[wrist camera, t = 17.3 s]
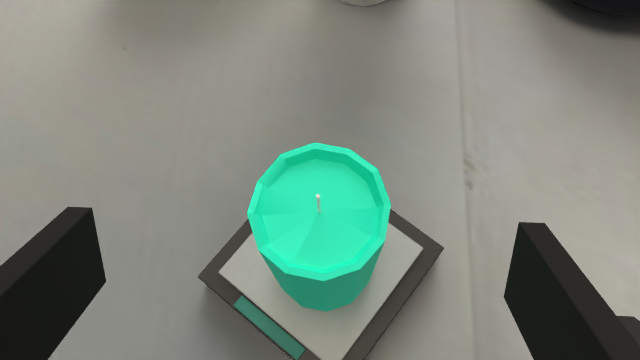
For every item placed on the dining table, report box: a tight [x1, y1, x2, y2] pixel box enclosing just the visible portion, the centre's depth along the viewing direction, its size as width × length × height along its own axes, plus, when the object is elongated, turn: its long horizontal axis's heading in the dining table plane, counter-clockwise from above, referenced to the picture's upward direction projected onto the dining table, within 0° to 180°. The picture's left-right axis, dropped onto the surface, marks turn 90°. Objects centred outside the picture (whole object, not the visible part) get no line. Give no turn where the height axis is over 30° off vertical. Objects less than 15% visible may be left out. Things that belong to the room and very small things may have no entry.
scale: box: [198, 209, 444, 360], centre depth 32 cm, size 11×11×3 cm
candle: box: [247, 142, 391, 312], centre depth 25 cm, size 6×6×12 cm
